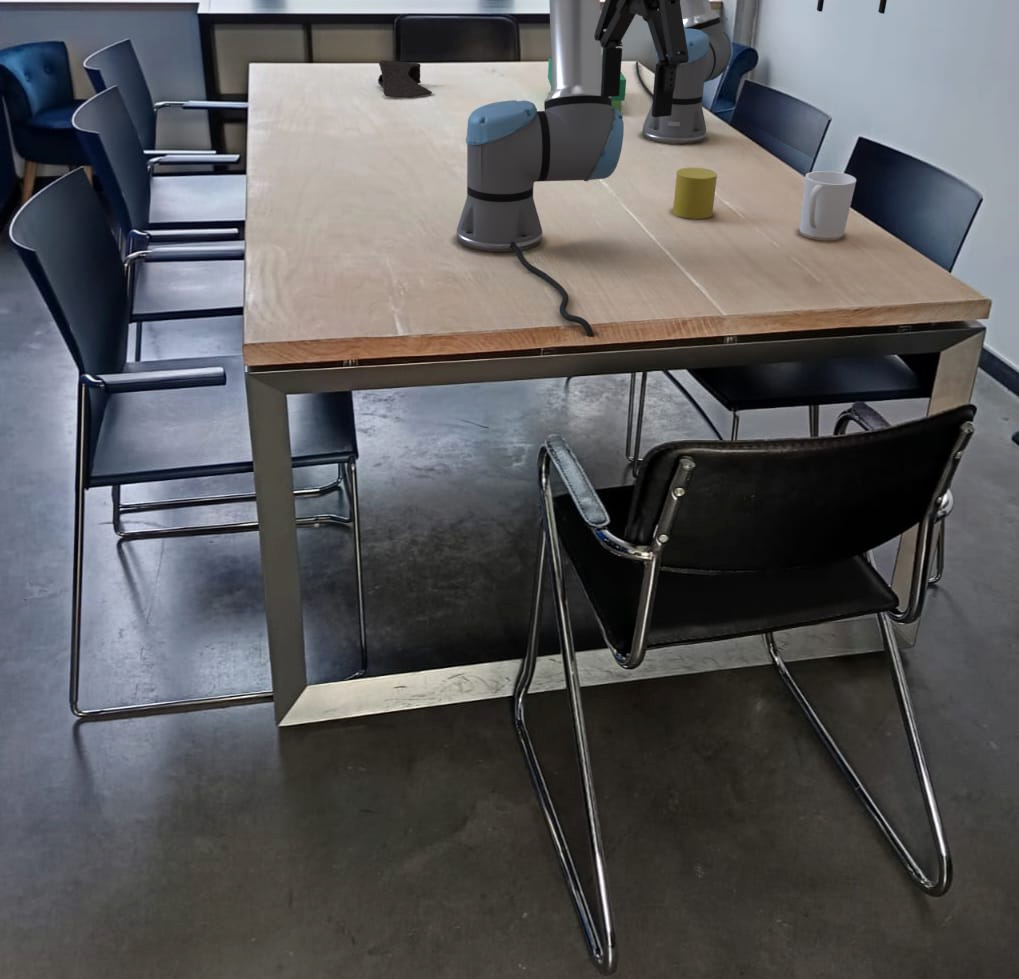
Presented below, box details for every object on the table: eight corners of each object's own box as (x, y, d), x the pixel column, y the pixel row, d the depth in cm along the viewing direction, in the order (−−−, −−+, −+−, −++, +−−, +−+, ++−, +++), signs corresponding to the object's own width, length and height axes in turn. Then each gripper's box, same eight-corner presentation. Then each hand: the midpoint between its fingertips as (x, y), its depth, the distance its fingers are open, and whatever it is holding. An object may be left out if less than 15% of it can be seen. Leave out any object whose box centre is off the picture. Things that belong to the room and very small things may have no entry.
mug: (809, 222, 208) (818, 168, 202) (854, 233, 203) (864, 177, 197) (782, 236, 200) (791, 180, 195) (827, 247, 195) (838, 190, 190)
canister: (674, 205, 216) (678, 166, 212) (713, 209, 214) (718, 169, 210) (671, 217, 209) (675, 176, 205) (710, 220, 208) (715, 179, 204)
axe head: (443, 87, 294) (392, 77, 287) (436, 115, 299) (385, 106, 292) (421, 62, 307) (371, 52, 300) (414, 89, 311) (365, 80, 304)
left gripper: (727, -54, 135) (708, 122, 146) (622, -71, 154) (611, 86, 165) (677, -53, 132) (661, 127, 143) (575, -70, 151) (568, 90, 162)
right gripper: (812, -97, 230) (796, 12, 241) (932, -94, 228) (911, 16, 240) (806, -99, 236) (791, 7, 247) (923, -96, 235) (903, 10, 246)
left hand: (634, 106), depth 154 cm, fingers open, 13 cm apart
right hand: (850, 11), depth 243 cm, fingers open, 13 cm apart
